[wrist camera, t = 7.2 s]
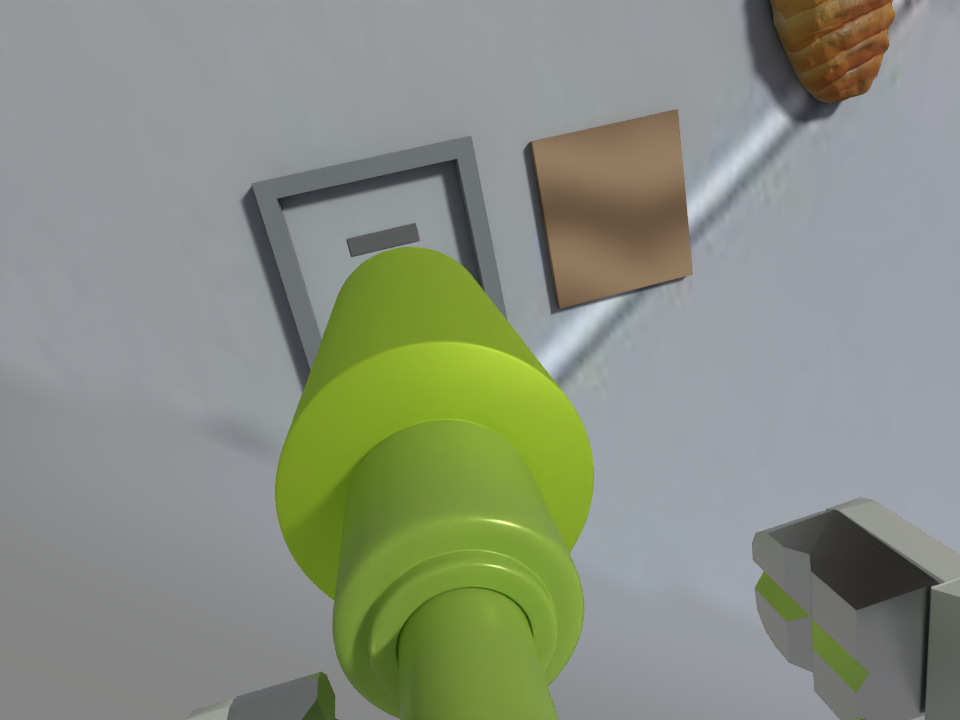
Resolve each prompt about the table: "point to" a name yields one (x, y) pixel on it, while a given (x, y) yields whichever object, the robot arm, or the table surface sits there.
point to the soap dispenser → (437, 496)
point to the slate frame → (360, 170)
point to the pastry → (834, 43)
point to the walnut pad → (614, 207)
